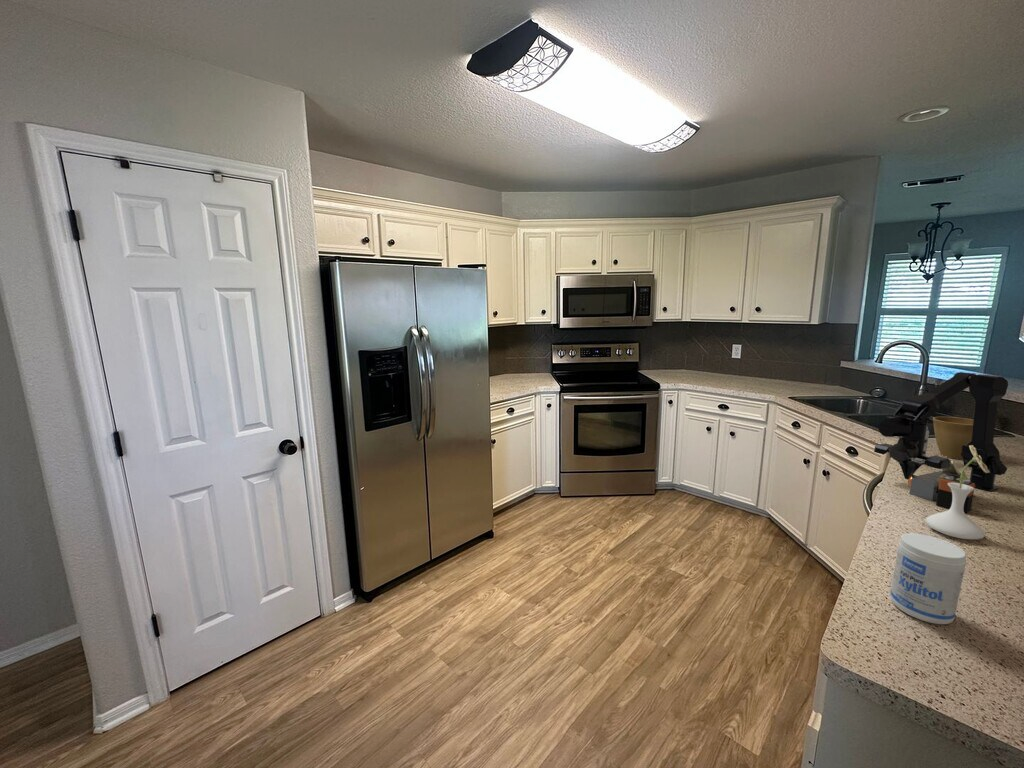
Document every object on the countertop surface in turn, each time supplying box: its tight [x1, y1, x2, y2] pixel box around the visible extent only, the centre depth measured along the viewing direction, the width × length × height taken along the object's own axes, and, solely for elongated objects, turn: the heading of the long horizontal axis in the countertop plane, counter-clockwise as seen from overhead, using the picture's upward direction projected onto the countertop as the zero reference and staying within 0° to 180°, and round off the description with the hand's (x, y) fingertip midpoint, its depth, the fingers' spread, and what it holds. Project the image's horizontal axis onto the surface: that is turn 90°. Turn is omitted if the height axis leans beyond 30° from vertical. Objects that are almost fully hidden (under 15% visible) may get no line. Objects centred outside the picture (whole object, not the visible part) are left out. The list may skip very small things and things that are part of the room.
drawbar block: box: [909, 470, 963, 502], centre depth 139 cm, size 16×6×6 cm, turn 109°
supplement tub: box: [889, 532, 967, 625], centre depth 84 cm, size 10×10×15 cm
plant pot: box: [932, 416, 973, 460], centre depth 174 cm, size 15×15×16 cm
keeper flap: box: [941, 460, 961, 476], centre depth 140 cm, size 7×4×1 cm
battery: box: [935, 476, 975, 514], centre depth 128 cm, size 4×7×10 cm, turn 27°
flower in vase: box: [924, 445, 990, 540], centre depth 113 cm, size 13×11×25 cm
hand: (907, 479), depth 143 cm, fingers closed
